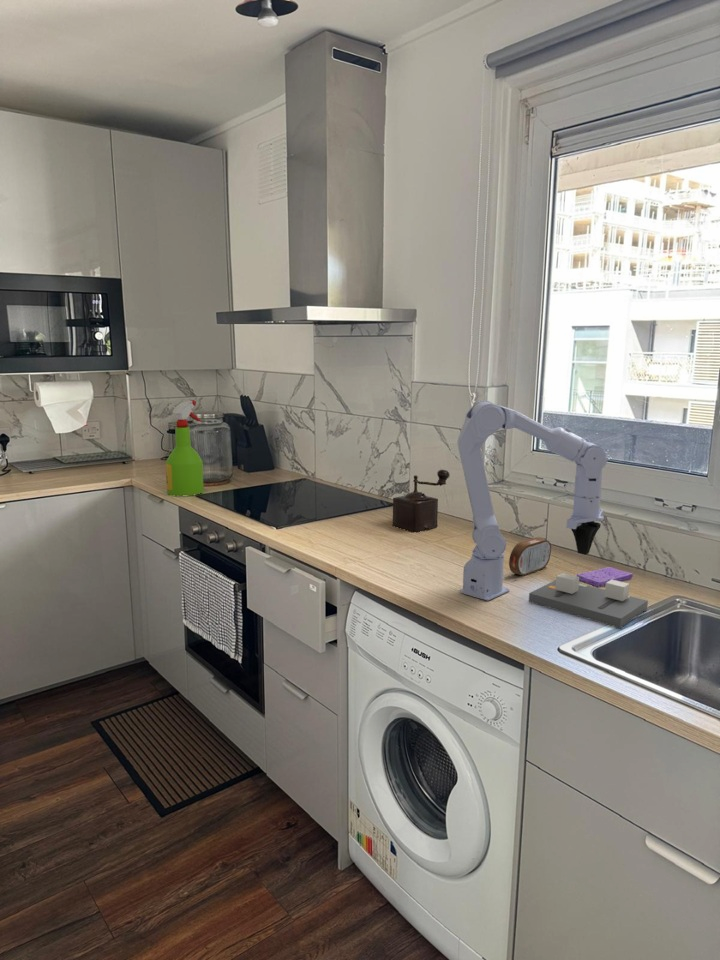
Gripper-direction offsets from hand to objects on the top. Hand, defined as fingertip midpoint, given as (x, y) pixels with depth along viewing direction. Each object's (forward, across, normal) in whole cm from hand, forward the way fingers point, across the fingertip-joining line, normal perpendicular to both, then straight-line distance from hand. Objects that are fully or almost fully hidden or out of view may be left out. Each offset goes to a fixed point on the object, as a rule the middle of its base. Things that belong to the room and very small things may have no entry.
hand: (583, 553), depth 160 cm
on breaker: (+7, -4, -10) cm, 13 cm away
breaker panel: (+9, -7, -5) cm, 13 cm away
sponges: (+10, +13, 0) cm, 17 cm away
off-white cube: (+7, -7, 0) cm, 10 cm away
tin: (+10, +5, +16) cm, 19 cm away
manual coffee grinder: (+10, +21, +64) cm, 68 cm away
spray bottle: (+10, -2, +160) cm, 160 cm away
